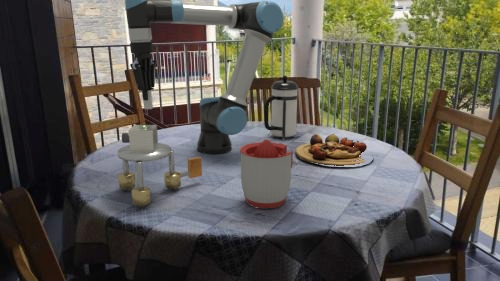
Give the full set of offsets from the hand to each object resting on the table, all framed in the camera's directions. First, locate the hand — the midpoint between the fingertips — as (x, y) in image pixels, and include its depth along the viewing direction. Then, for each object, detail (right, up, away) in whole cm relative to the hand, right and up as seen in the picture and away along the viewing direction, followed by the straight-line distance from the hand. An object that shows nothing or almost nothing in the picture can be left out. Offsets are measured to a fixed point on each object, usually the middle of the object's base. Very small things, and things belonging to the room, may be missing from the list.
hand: (148, 108), depth 145 cm
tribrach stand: (+3, -29, -18) cm, 35 cm away
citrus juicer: (+42, -31, -21) cm, 56 cm away
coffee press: (+52, -10, +51) cm, 74 cm away
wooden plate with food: (+72, -19, +24) cm, 78 cm away
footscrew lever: (+14, -27, -10) cm, 32 cm away
